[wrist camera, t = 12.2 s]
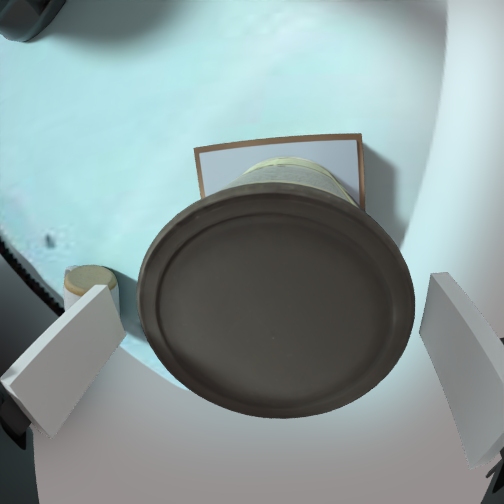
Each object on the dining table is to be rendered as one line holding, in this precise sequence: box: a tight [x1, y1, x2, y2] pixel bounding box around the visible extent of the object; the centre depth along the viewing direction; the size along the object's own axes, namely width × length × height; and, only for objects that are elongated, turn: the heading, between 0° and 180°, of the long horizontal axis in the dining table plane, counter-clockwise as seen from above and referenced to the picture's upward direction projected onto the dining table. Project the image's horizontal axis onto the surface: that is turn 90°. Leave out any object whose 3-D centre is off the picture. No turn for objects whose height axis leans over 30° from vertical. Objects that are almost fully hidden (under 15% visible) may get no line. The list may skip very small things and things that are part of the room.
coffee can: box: [137, 156, 415, 419], centre depth 16 cm, size 10×10×14 cm
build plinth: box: [194, 133, 365, 211], centre depth 25 cm, size 13×13×5 cm
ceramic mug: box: [63, 265, 120, 318], centre depth 32 cm, size 11×8×8 cm
